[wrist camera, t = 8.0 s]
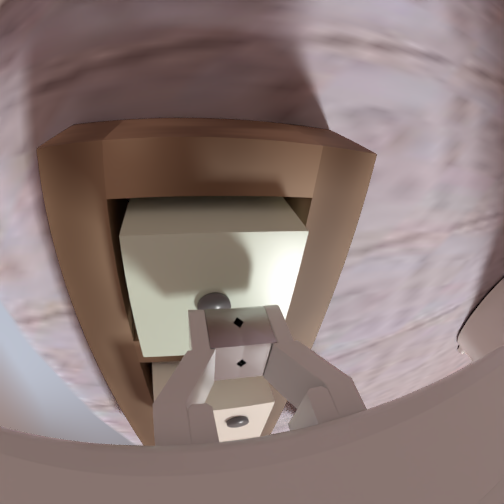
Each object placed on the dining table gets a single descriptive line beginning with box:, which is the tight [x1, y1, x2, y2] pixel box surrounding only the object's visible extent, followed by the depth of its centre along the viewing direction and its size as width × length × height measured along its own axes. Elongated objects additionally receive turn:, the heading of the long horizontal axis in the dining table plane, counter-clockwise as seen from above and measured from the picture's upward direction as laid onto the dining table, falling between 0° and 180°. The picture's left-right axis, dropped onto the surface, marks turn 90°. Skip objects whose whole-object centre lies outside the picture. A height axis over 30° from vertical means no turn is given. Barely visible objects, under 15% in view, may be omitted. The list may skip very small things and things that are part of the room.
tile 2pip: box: [152, 361, 275, 442], centre depth 16 cm, size 6×6×5 cm
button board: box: [37, 118, 377, 446], centre depth 18 cm, size 12×29×4 cm, turn 173°
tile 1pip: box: [119, 196, 309, 357], centre depth 12 cm, size 6×6×5 cm
